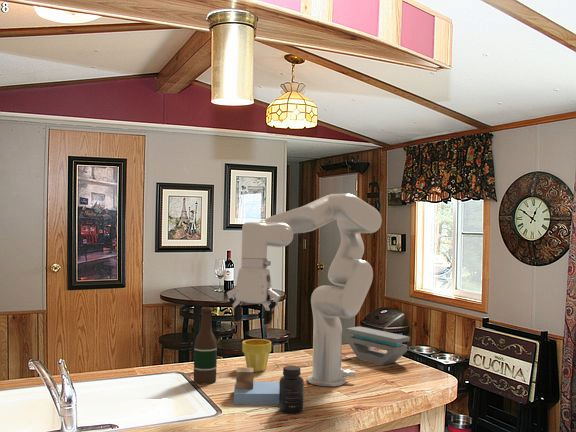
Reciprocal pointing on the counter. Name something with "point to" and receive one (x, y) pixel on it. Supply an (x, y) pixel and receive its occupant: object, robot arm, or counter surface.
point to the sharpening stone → (376, 345)
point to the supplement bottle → (291, 391)
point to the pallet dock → (258, 394)
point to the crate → (244, 378)
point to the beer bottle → (205, 351)
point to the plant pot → (256, 353)
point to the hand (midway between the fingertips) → (252, 322)
